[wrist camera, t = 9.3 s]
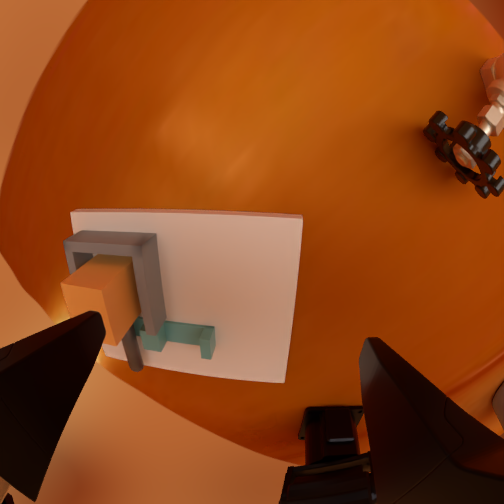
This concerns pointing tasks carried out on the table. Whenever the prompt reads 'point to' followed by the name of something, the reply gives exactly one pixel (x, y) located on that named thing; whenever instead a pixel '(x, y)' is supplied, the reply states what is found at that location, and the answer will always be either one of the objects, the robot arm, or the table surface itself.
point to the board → (218, 285)
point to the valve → (474, 135)
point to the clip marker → (185, 337)
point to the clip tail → (142, 333)
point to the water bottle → (499, 404)
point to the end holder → (144, 264)
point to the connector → (108, 300)
